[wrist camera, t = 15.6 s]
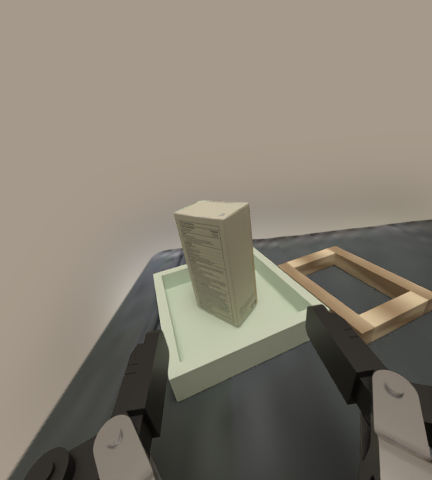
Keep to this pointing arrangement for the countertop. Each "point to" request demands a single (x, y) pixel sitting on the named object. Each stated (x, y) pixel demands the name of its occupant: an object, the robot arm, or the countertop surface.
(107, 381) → the countertop surface
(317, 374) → the countertop surface
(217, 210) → the skincare box
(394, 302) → the wooden frame
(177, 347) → the sage tray
